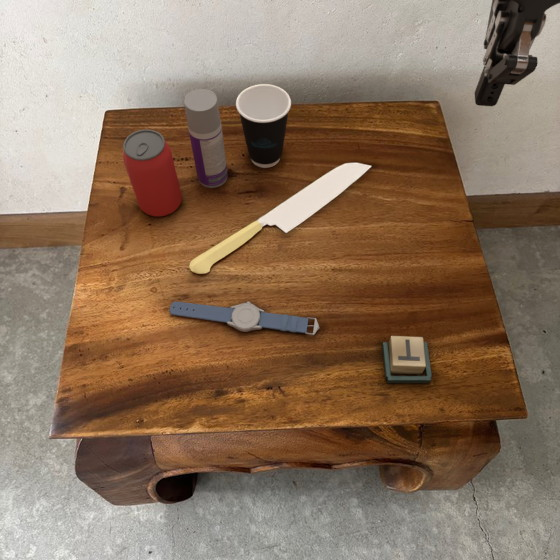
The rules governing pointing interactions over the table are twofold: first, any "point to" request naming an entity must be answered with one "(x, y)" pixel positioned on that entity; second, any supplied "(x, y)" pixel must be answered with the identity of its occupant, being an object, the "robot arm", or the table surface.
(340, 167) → the knife
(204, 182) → the container
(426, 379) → the frame
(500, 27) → the robot arm
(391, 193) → the table surface
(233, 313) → the wristwatch
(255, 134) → the dixie cup
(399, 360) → the letter tile
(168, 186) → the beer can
